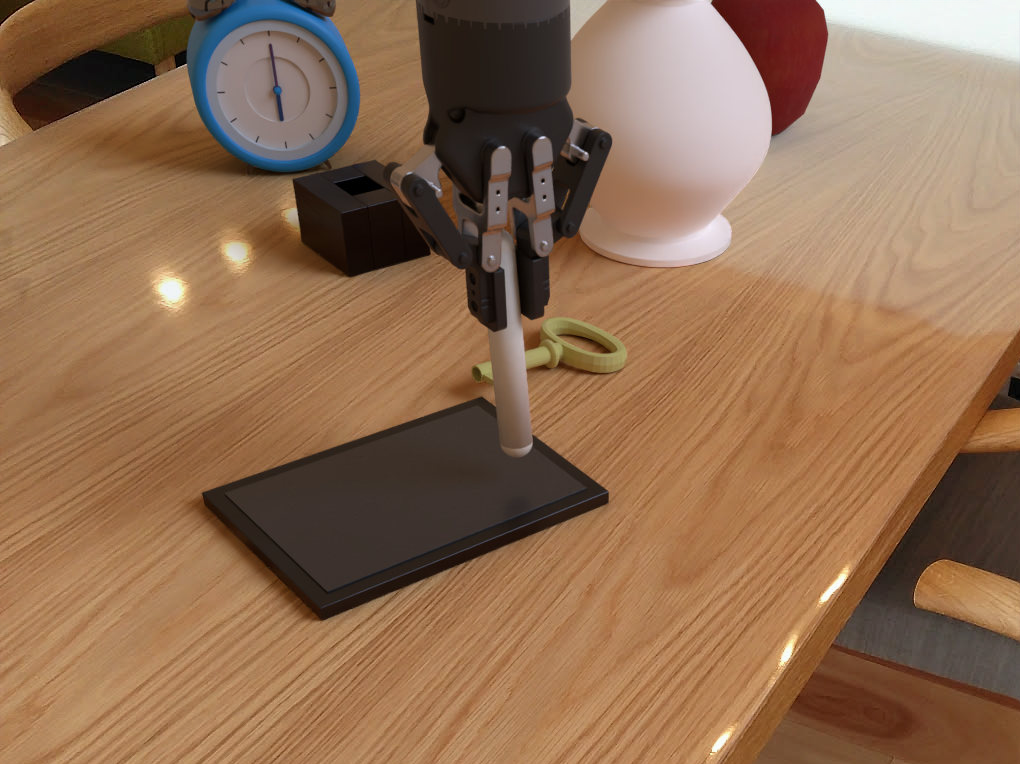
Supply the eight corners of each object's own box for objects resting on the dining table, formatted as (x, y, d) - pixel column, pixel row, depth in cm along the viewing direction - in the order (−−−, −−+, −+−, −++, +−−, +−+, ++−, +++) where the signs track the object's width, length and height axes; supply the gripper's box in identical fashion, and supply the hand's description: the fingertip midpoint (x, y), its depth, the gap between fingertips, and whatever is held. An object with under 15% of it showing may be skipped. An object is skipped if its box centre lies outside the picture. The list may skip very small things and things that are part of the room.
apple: (735, 95, 144) (744, -54, 134) (840, 123, 140) (856, -28, 131) (673, 131, 136) (678, -25, 127) (783, 162, 132) (796, 4, 123)
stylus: (513, 466, 88) (490, 238, 79) (494, 454, 89) (469, 227, 80) (540, 456, 89) (520, 229, 80) (521, 444, 90) (499, 219, 81)
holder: (349, 277, 110) (341, 212, 106) (301, 242, 114) (291, 178, 110) (431, 254, 114) (425, 191, 110) (382, 221, 117) (375, 159, 114)
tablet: (322, 621, 81) (319, 606, 80) (203, 504, 88) (200, 490, 87) (609, 503, 91) (609, 489, 90) (482, 407, 98) (481, 394, 97)
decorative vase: (536, 189, 124) (525, -148, 107) (740, 187, 127) (761, -139, 110) (558, 285, 112) (549, -79, 94) (783, 280, 115) (814, -71, 98)
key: (466, 396, 99) (464, 367, 97) (559, 324, 107) (559, 297, 106) (557, 426, 97) (556, 397, 96) (645, 351, 105) (645, 323, 104)
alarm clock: (209, 181, 120) (171, -16, 110) (203, 152, 124) (166, -41, 114) (370, 171, 124) (348, -21, 114) (358, 143, 128) (336, -45, 118)
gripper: (562, -48, 77) (568, 265, 89) (327, -11, 69) (369, 325, 81) (651, -8, 73) (645, 314, 85) (412, 36, 66) (442, 381, 78)
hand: (509, 318), depth 83 cm, fingers closed on stylus, 2 cm apart
